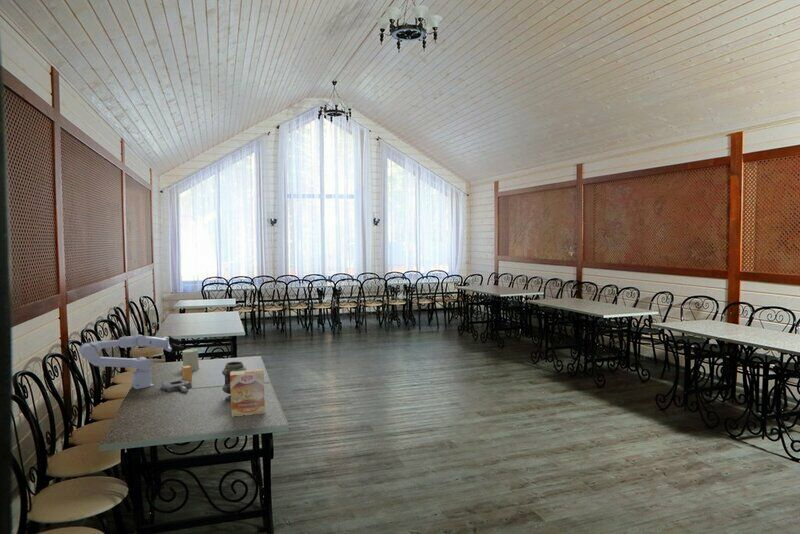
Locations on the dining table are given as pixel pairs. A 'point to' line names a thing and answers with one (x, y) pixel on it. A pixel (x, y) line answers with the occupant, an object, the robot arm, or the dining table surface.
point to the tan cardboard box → (187, 373)
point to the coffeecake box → (247, 392)
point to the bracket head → (177, 385)
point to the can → (190, 358)
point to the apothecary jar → (226, 371)
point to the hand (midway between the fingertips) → (182, 345)
